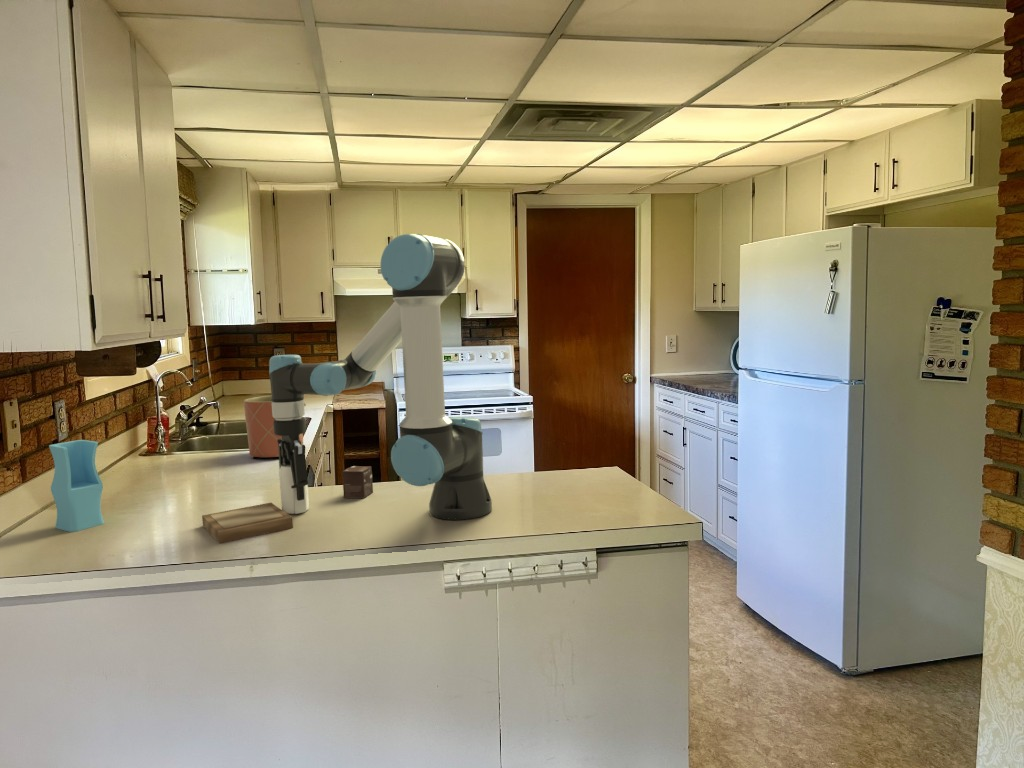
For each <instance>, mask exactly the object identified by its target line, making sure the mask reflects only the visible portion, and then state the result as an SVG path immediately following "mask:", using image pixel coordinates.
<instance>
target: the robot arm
mask: <svg viewBox="0 0 1024 768" xmlns="http://www.w3.org/2000/svg"><path fill="white" fill-rule="evenodd" d="M465 269H466V265H465V258H464V254H463V252H462V250H461V249H460V247H459V246H458V245H457V244H456V243H455V242H453V241H452V240H450V239H447V238H444V237H436V236H432V235H431V236H430V235H425V234H420V233H404V234H400V235H397V236H396V237H394V238H393V239H392V240H390V242H389V243H388V244H387V245H386V246H385V247H384V250H383V252H382V255H381V258H380V272H381V275H382V278H383V280H384V281H386V284H387V285H388V286H389V287H391V288H392V289H391V290H392V291H391V292H392V293H391V295H392V300H393V301H394V302H393V303H392V304H391V306H389V307H388V309H387V310H386V311H385V312H384V313H383V315H382V316H381V317H380V318H379V319H378V320H377V322H376V323H375V324H374V325H373V326H372V328H371V329H369V331H368V332H367V333H366V335H365V336H364V337H363V338H362V339H361V340H360V341H359V342H358V344H357V345H356V346H355V347H354V348H353V350H352V351H351V352H350V353H349V354H348V355H347V356H346V357H345V358H344V359H341V360H334V361H325V362H316V363H303V361H302V357H301V355H299V354H278V355H272V356H271V357H270V359H269V366H268V367H269V370H268V372H269V373H268V375H269V382H270V395H272V416H273V417H274V418H275V420H274V421H273V426H274V434H275V435H278V436H282V439H278V440H277V442H278V448H279V457H278V466H279V469H278V470H280V468H281V464H283V463H285V464H290V465H291V471H292V477H293V482H294V485H293V486H291V488H293V500H294V513H295V514H294V515H298V514H297V513H300V514H303V513H305V512H307V511H306V500H305V485H308V486H309V481H308V480H309V479H308V471H307V470H308V469H307V461H306V444H303V445H302V444H301V441H300V439H299V435H300V434H302V433H303V434H304V433H306V431H307V427H306V424H307V423H306V418H305V417H302V416H305V414H306V412H305V407H306V406H307V403H306V402H305V397H304V395H312V396H313V395H314V396H323V397H327V396H336V395H340V394H341V393H342V391H347V390H354V389H361V388H363V387H366V386H369V385H370V384H371V383H373V382H374V380H375V378H376V375H377V374H376V373H377V369H378V368H379V366H381V364H383V362H384V361H386V359H387V358H388V357H389V356H390V355H391V353H393V351H394V350H395V349H396V348H397V346H399V345H400V344H401V346H402V347H401V349H402V361H403V362H402V364H403V365H402V366H403V380H404V381H403V384H404V402H405V403H404V405H405V416H404V418H403V419H402V420H401V421H400V422H399V438H397V440H396V441H395V443H394V444H393V446H392V447H391V451H390V461H391V465H392V468H393V470H394V471H395V473H396V474H397V476H399V477H400V478H401V479H402V480H403V481H404V482H405V483H406V484H409V485H411V486H414V487H425V486H428V485H433V488H432V493H431V496H430V499H429V503H428V507H429V510H428V511H429V514H430V515H431V516H432V517H434V518H437V519H442V520H453V521H455V520H459V521H460V520H470V519H471V520H472V519H476V518H480V517H484V516H485V515H488V514H490V512H492V510H493V503H492V502H493V500H492V497H491V495H490V492H489V489H488V486H487V483H486V481H485V478H484V456H483V454H484V452H483V451H484V450H483V449H484V448H483V435H484V434H483V431H482V422H481V421H480V419H478V418H477V417H472V416H471V417H470V416H447V414H446V408H445V407H446V406H445V403H446V402H445V384H444V365H443V362H444V361H443V343H442V339H443V338H442V318H441V305H442V304H443V302H444V301H445V300H446V299H448V298H449V296H450V295H451V294H452V293H453V292H454V290H456V288H457V287H458V285H459V284H460V282H461V280H462V279H463V276H464V273H465ZM302 512H303V513H302Z"/></svg>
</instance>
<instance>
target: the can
mask: <svg viewBox="0 0 1024 768" xmlns="http://www.w3.org/2000/svg"><path fill="white" fill-rule="evenodd" d="M278 470H279V471H278V473H279V474H278V476H279V490H280V491H279V492H280V500H281V501H280V505H281V510H283V511H284V512H286V513H287V514H288V515H298V514H303V513H304V512H302V513H297V514H295V513H294V500H293V488H291V486H293V485H294V482H293V477H292V471H291V465H290V464H285V463H283V464H281V468H280V469H278ZM305 500H306V512H307V511H308V510H310V503H309V502H310V501H309V484H308V485H305Z"/></svg>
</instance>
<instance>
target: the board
mask: <svg viewBox="0 0 1024 768" xmlns="http://www.w3.org/2000/svg"><path fill="white" fill-rule="evenodd" d="M201 518H202V520H201V521H202V526H203V528H204V529H206V531H207V532H208V533H209V534H210V535H211V536H212V537H213V538H214V539H215V541H216V542H217V543H218V544H223V543H228V542H232V541H233V542H234V541H237V540H242V539H243V540H244V539H247V538H252V537H255V536H260V535H264V534H265V535H266V534H271V533H275V532H279V531H283V530H289V529H293V528H294V524H293V523H294V522H293V516H292V515H291V514H287V513H286V512H284V511H283V510H282V508H280V507H278V506H277V505H276V504H274V503H272V502H267V503H260V504H256V505H250V506H245V507H241V508H235V509H230V510H225V511H219V512H214V513H208V514H203V515H201Z"/></svg>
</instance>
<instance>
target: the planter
mask: <svg viewBox="0 0 1024 768" xmlns="http://www.w3.org/2000/svg"><path fill="white" fill-rule="evenodd" d="M243 409H244V418H245V425H246V427H245V428H246V433H247V442H248V443H247V444H248V452H249V456H250V459H252V460H253V459H255V457H256V458H279V448H278V442H277V440H278V439H282V436H278V435H275V434H274V426H273V421H274V420H275V418H274V417H273V416H272V395H271V394H270V395H262V396H253V397H249V398H246V399H244V400H243ZM302 417H303V416H302ZM299 439H300V441H301V444H302V445H304V433H302V434H300V435H299Z"/></svg>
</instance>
